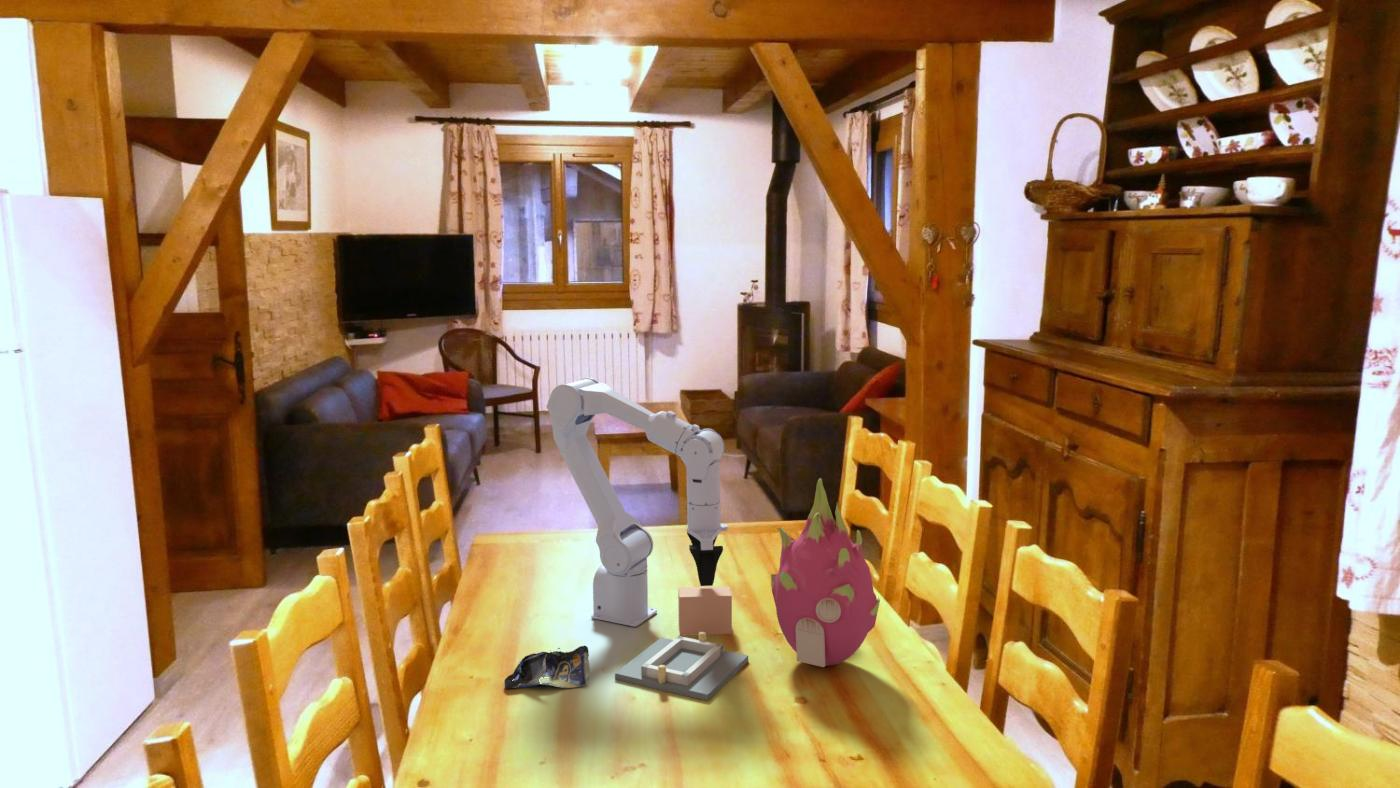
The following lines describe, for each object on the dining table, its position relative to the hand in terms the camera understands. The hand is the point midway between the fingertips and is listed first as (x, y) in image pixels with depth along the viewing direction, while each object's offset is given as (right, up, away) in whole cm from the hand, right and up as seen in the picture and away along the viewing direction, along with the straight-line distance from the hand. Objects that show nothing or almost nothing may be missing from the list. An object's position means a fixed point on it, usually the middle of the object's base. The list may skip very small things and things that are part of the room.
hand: (705, 577), depth 167 cm
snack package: (-25, -13, -18) cm, 33 cm away
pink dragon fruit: (+19, -12, -12) cm, 25 cm away
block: (0, -9, +2) cm, 10 cm away
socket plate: (-4, -12, -14) cm, 19 cm away
